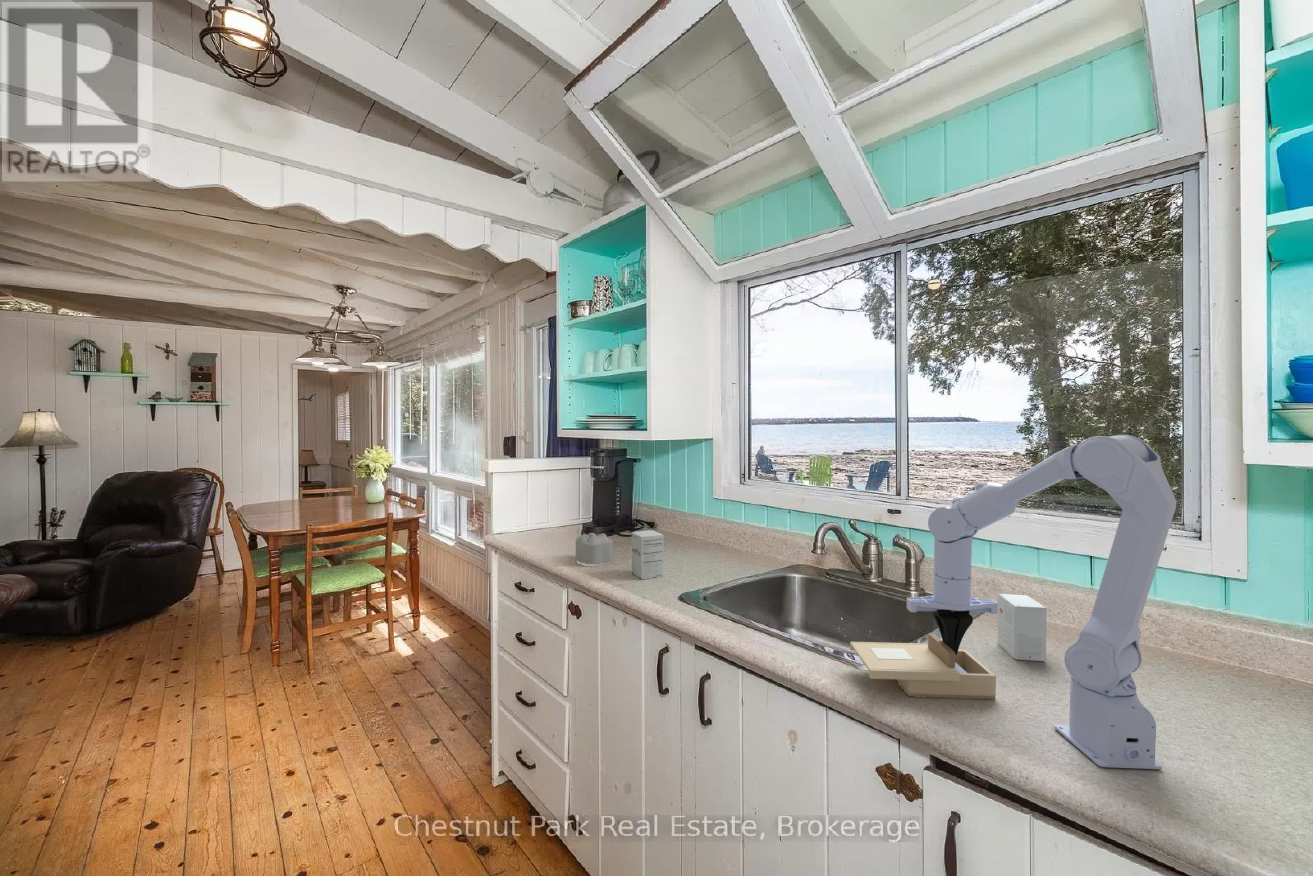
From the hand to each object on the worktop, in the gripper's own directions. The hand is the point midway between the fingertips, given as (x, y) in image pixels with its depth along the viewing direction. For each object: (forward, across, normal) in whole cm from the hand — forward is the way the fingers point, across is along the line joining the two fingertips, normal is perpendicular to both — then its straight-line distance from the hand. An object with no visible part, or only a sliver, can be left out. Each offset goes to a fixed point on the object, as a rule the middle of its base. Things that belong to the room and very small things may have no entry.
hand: (950, 652), depth 95 cm
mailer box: (+6, +2, 0) cm, 6 cm away
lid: (+2, +8, 0) cm, 9 cm away
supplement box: (+6, +58, -62) cm, 85 cm away
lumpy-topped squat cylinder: (+6, +77, -77) cm, 109 cm away
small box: (+6, -20, -14) cm, 25 cm away
